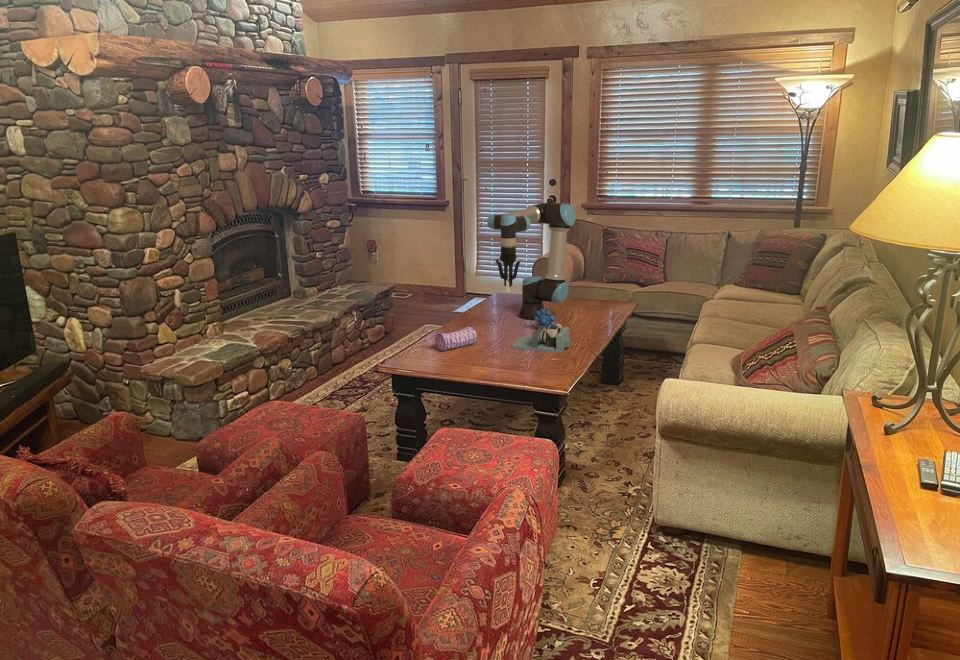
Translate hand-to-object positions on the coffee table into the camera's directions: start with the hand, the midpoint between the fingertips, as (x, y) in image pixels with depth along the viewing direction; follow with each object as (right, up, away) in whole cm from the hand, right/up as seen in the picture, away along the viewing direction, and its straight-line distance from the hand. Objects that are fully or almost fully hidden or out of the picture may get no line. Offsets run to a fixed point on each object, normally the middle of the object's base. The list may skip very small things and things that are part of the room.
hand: (508, 292), depth 355 cm
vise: (+16, -27, -6) cm, 32 cm away
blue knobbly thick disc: (+20, -20, +19) cm, 34 cm away
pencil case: (-26, -28, -5) cm, 38 cm away
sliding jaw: (+16, -24, -3) cm, 30 cm away
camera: (+21, -26, -7) cm, 34 cm away
